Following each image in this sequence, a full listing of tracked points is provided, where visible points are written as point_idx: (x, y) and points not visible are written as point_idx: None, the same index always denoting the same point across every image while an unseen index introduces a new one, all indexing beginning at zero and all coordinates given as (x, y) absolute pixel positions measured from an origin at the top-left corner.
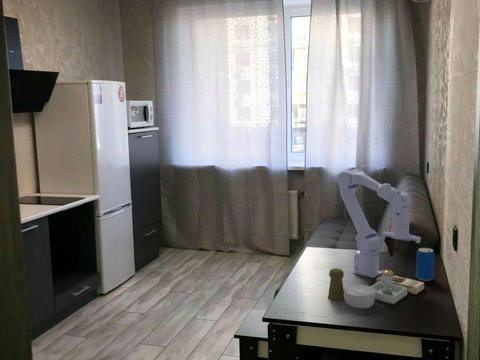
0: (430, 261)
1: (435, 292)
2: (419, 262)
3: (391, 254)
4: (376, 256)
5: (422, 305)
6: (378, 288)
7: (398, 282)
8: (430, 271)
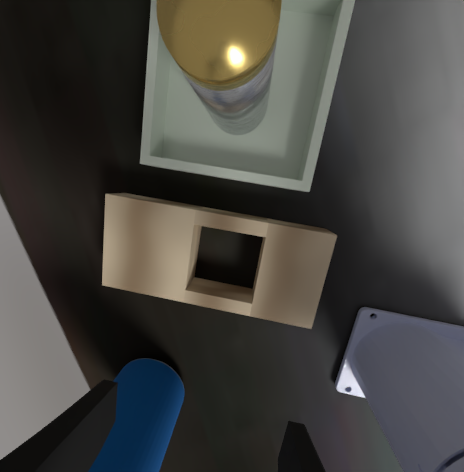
0: None
1: (70, 253)
2: (123, 444)
3: (291, 449)
4: (429, 452)
5: (58, 66)
6: (298, 155)
7: (231, 287)
8: None
